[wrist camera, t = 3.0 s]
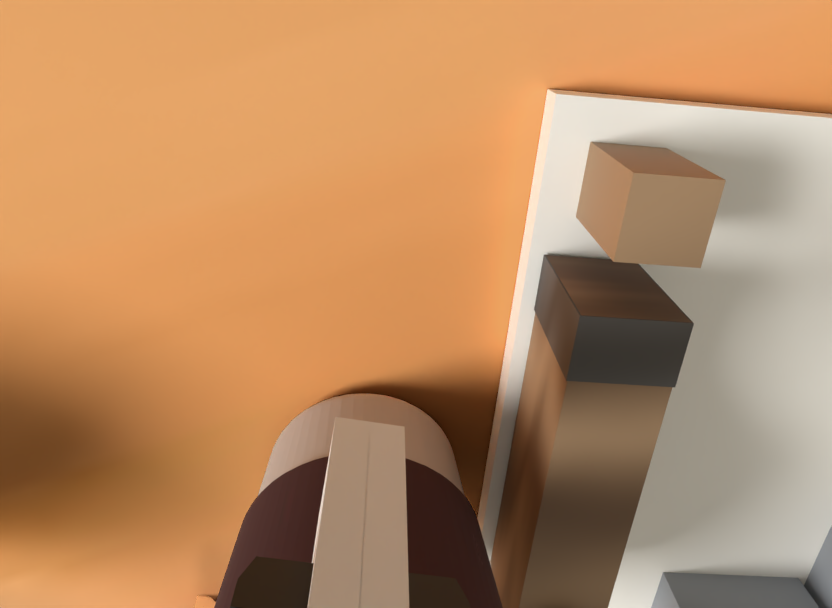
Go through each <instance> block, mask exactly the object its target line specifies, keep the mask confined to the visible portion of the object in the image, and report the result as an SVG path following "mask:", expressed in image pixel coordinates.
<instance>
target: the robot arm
mask: <svg viewBox="0 0 832 608" xmlns="http://www.w3.org/2000/svg"><path fill="white" fill-rule="evenodd" d="M230 608H470V603H469V601H468V599H467V598H466V596H465V594H464V592H463V591H462V589H461V587H460V585H459V583H458V582H457V580H456V578H449V577H440V576H432V575H424V574H415V573H408V540H407V502H406V463H405V427H404V426H397V425H390V424H383V423H376V422H369V421H362V420H355V419H348V418H341V417H335V423H334V429H333V435H332V441H331V446H330V452H329V458H328V464H327V470H326V476H325V482H324V488H323V494H322V500H321V505H320V511H319V517H318V524H317V531H316V538H315V544H314V551H313V558H312V563H308V562H300V561H291V560H283V559H275V558H266V557H258V556H256V557H255V559H254V560H253V561H252V562H251V563H250V565H249V566H248V567H247V568H246V569H245V571H244V572H243V573H242V574H241V575H240V577H239V578H238V579H237V583H236V587H235V590H234V594H233V598H232V601H231V605H230Z"/></svg>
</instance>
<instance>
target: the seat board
mask: <svg viewBox="0 0 832 608" xmlns="http://www.w3.org/2000/svg"><path fill="white" fill-rule="evenodd" d="M544 255H558V256H572V257H586V258H600V259H611V260H612V261H613V262H623V263H636V264H639V265H640V266H641V267H642V268H643V269H644V270H645V271H646V272H647V273H648V274H649V275H650V276H651V278H652V279H653V280H654V281H655V282H656V283H657V284H658V285H659V286H660V287H661V288H662V289H663V291H664V292H665V293H666V294H667V295H668V296H669V297H670V298H671V299H672V300H673V301H674V302H675V303H676V305H677V306H678V307H679V308H680V309H681V310H682V311H683V312H684V313H685V314H686V315H687V316H688V317H689V319H690V320H691V321H692V322H693V323H694V325H693V329H692V332H691V336H690V339H689V342H688V346H687V349H686V352H685V356H684V359H683V363H682V366H681V369H680V373H679V376H678V380H677V383H676V386H675V387H672V391H671V394H670V397H669V401H668V404H667V408H666V411H665V415H664V418H663V421H662V425H661V428H660V432H659V435H658V438H657V442H656V445H655V449H654V452H653V455H652V459H651V462H650V466H649V469H648V472H647V476H646V479H645V483H644V486H643V490H642V493H641V496H640V500H639V503H638V507H637V510H636V513H635V517H634V520H633V524H632V527H631V530H630V534H629V537H628V541H627V544H626V547H625V551H624V554H623V558H622V561H621V565H620V568H619V571H618V575H617V578H616V582H615V585H614V588H613V592H612V595H611V599H610V602H609V605H608V608H832V114H825V113H814V112H803V111H791V110H780V109H769V108H758V107H746V106H735V105H724V104H712V103H701V102H690V101H678V100H667V99H656V98H644V97H633V96H622V95H610V94H599V93H588V92H576V91H565V90H554V89H548V90H547V96H546V102H545V108H544V114H543V120H542V127H541V133H540V139H539V145H538V151H537V157H536V163H535V169H534V176H533V182H532V188H531V194H530V200H529V206H528V212H527V218H526V224H525V231H524V237H523V243H522V249H521V255H520V261H519V267H518V273H517V280H516V286H515V292H514V298H513V304H512V310H511V316H510V322H509V328H508V335H507V341H506V347H505V353H504V359H503V365H502V371H501V377H500V384H499V390H498V396H497V402H496V408H495V414H494V420H493V426H492V433H491V439H490V445H489V451H488V457H487V463H486V469H485V475H484V481H483V488H482V494H481V500H480V506H479V512H478V518H477V520H478V523H479V526H480V529H481V533H482V536H483V540H484V544H485V547H486V551H487V554H488V558H489V561H491V555H492V550H493V544H494V539H495V533H496V528H497V522H498V516H499V511H500V505H501V500H502V494H503V489H504V483H505V478H506V472H507V467H508V461H509V456H510V450H511V445H512V439H513V433H514V428H515V422H516V417H517V411H518V406H519V400H520V395H521V389H522V384H523V378H524V373H525V367H526V361H527V356H528V350H529V345H530V339H531V334H532V328H533V323H534V317H535V311H534V307H535V301H536V296H537V290H538V284H539V279H540V273H541V268H542V262H543V257H544ZM490 565H491V562H490Z"/></svg>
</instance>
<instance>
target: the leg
mask: <svg viewBox="0 0 832 608" xmlns="http://www.w3.org/2000/svg"><path fill="white" fill-rule="evenodd" d="M534 311H535V317H534V323H533V328H532V334H531V339H530V345H529V350H528V356H527V361H526V367H525V373H524V378H523V384H522V389H521V395H520V400H519V406H518V411H517V417H516V422H515V428H514V433H513V439H512V445H511V450H510V456H509V461H508V467H507V472H506V478H505V483H504V489H503V494H502V500H501V505H500V511H499V516H498V522H497V528H496V533H495V539H494V544H493V550H492V555H491V561H490V562H491V568H492V572H493V575H494V579H495V582H496V586H497V589H498V593H499V596H500V600H501V603H502V607H503V608H608V605H609V602H610V599H611V595H612V592H613V588H614V585H615V582H616V578H617V575H618V571H619V568H620V565H621V561H622V558H623V554H624V551H625V547H626V544H627V541H628V537H629V534H630V530H631V527H632V524H633V520H634V517H635V513H636V510H637V507H638V503H639V500H640V496H641V493H642V490H643V486H644V483H645V479H646V476H647V472H648V469H649V466H650V462H651V459H652V455H653V452H654V449H655V445H656V442H657V438H658V435H659V432H660V428H661V425H662V421H663V418H664V415H665V411H666V408H667V404H668V401H669V397H670V394H671V391H672V387H675V386H676V383H677V380H678V376H679V373H680V369H681V366H682V363H683V359H684V356H685V352H686V349H687V346H688V342H689V339H690V336H691V332H692V329H693V325H694V323H693V322H692V321H691V320H690V319H689V317H688V316H687V315H686V314H685V313H684V312H683V311H682V310H681V309H680V308H679V307H678V306H677V305H676V303H675V302H674V301H673V300H672V299H671V298H670V297H669V296H668V295H667V294H666V293H665V292H664V291H663V289H662V288H661V287H660V286H659V285H658V284H657V283H656V282H655V281H654V280H653V279H652V278H651V276H650V275H649V274H648V273H647V272H646V271H645V270H644V269H643V268H642V267H641V266H640V265H639V264H636V263H623V262H613V261H612V260H611V259H600V258H586V257H572V256H558V255H544V257H543V262H542V268H541V273H540V279H539V284H538V290H537V296H536V301H535V307H534Z"/></svg>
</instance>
